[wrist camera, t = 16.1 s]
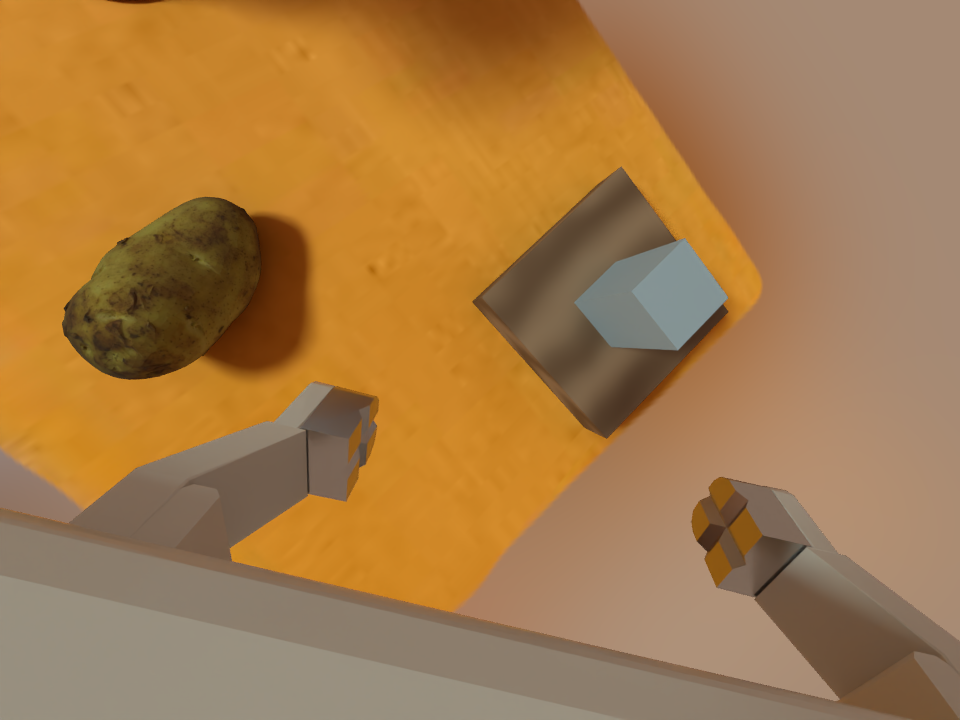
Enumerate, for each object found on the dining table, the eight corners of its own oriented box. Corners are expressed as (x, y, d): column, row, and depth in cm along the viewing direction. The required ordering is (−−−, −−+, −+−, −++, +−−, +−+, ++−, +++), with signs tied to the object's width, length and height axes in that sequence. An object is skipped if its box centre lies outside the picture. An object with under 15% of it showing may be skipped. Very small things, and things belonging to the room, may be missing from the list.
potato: (314, 281, 31) (286, 262, 24) (183, 389, 30) (106, 408, 22) (235, 197, 30) (177, 147, 22) (93, 306, 28) (-22, 295, 21)
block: (574, 302, 32) (631, 291, 24) (615, 261, 32) (684, 238, 25) (611, 347, 33) (678, 350, 25) (650, 306, 33) (728, 297, 25)
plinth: (472, 301, 34) (481, 297, 30) (596, 185, 36) (621, 166, 32) (584, 427, 37) (606, 438, 33) (695, 314, 39) (728, 311, 35)
